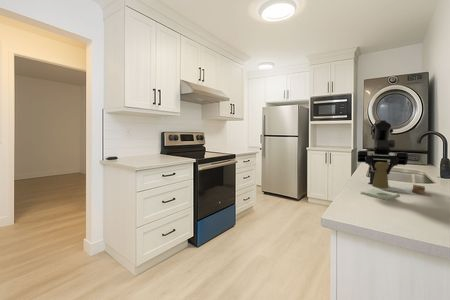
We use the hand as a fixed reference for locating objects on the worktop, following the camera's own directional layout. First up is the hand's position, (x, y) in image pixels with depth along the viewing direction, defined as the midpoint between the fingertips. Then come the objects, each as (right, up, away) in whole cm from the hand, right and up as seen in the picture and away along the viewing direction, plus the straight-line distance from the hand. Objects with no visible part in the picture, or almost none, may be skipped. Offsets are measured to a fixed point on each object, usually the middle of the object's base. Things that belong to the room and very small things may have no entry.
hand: (381, 172), depth 98 cm
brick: (+21, -10, +5) cm, 23 cm away
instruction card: (+17, -10, +10) cm, 22 cm away
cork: (+1, -7, +2) cm, 7 cm away
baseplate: (+1, -10, +2) cm, 10 cm away
